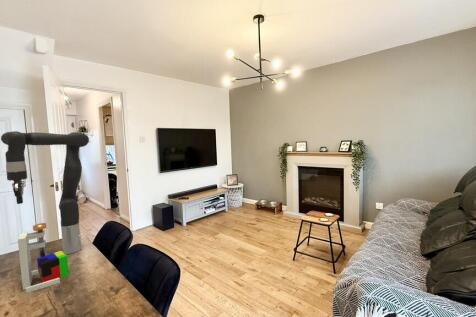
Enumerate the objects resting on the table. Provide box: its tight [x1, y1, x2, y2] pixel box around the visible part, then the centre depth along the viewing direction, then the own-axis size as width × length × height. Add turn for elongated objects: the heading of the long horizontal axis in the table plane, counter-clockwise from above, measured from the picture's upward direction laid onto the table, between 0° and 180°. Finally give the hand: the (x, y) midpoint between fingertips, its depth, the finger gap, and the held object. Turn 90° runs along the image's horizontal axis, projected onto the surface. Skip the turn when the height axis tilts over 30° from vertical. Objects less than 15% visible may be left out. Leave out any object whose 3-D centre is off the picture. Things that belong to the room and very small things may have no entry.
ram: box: [32, 222, 48, 258], centre depth 113 cm, size 5×5×16 cm
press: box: [17, 229, 61, 294], centre depth 113 cm, size 14×18×24 cm
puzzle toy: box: [36, 250, 70, 283], centre depth 116 cm, size 10×10×10 cm
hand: (20, 203), depth 119 cm, fingers closed
